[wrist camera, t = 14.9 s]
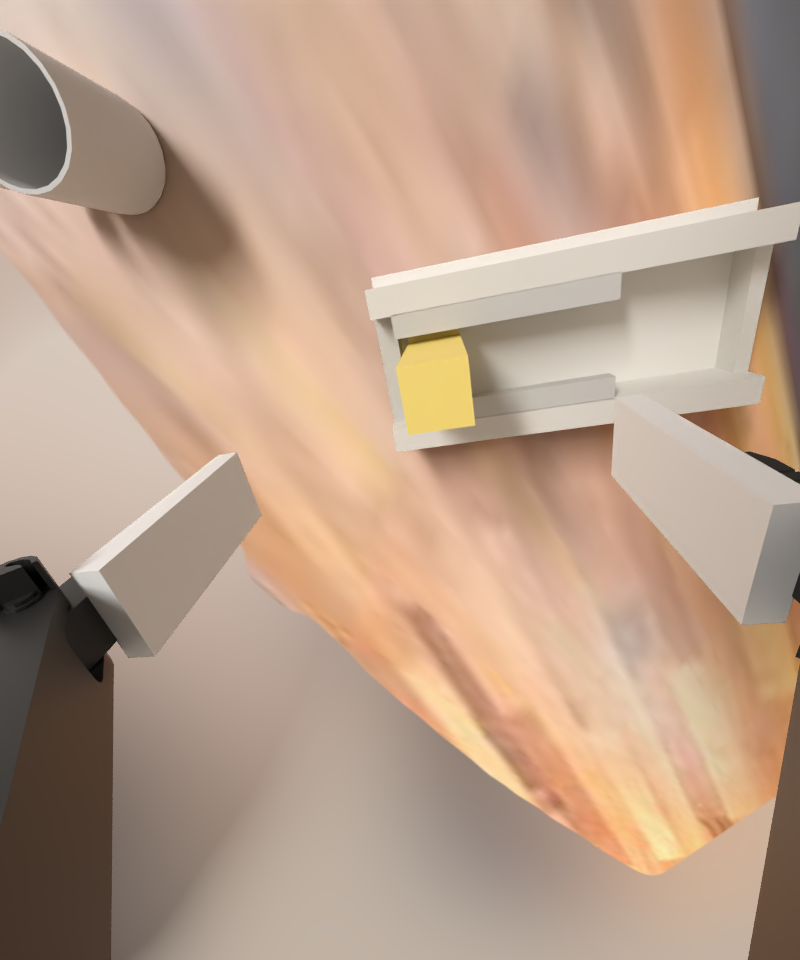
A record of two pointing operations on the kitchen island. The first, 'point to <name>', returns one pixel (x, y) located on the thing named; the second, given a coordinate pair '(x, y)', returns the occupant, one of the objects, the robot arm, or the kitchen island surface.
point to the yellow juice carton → (435, 383)
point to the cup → (73, 136)
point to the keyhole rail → (593, 321)
